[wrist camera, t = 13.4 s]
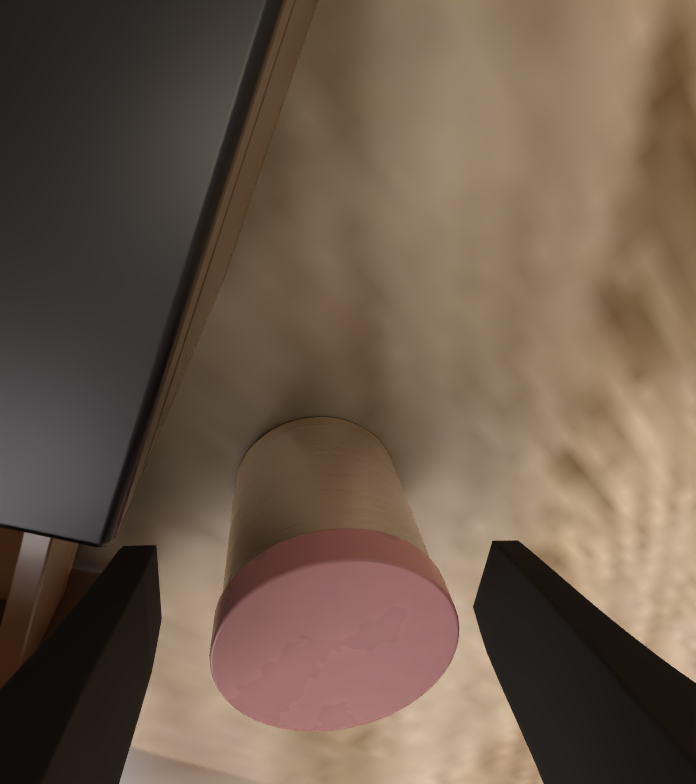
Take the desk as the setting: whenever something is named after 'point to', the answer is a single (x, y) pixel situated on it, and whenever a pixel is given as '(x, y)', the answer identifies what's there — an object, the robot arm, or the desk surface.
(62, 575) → the drawer
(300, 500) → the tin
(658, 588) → the desk surface
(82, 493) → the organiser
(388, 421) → the desk surface
